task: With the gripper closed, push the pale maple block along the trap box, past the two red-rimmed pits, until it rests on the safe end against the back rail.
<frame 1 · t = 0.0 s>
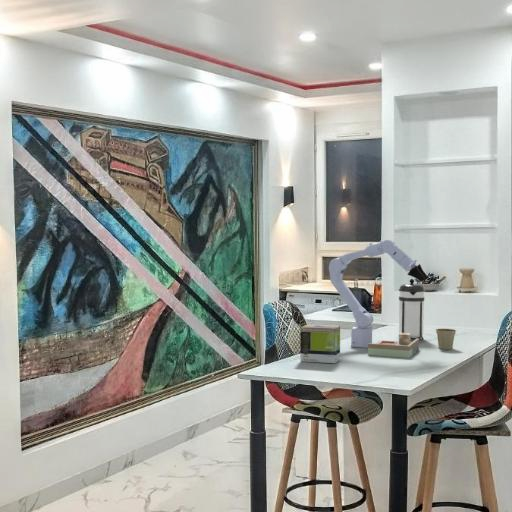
hand: (425, 279, 358), 32 cm above the breakfast bar, tool tilted 50°, fingers open, 7 cm apart
maple block: (404, 343, 360), point 3 cm above the breakfast bar, touching trap box
tea box: (320, 361, 331), on the breakfast bar
coffee press: (409, 338, 397), on the breakfast bar
flower pot: (445, 348, 366), on the breakfast bar
trap box: (393, 352, 355), on the breakfast bar
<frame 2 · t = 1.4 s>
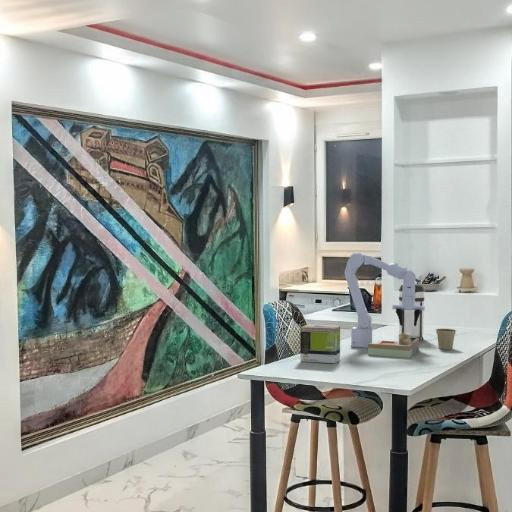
hand: (408, 325, 367), 10 cm above the breakfast bar, tool pointing down, fingers open, 6 cm apart
nothing on the breakfast bar moved.
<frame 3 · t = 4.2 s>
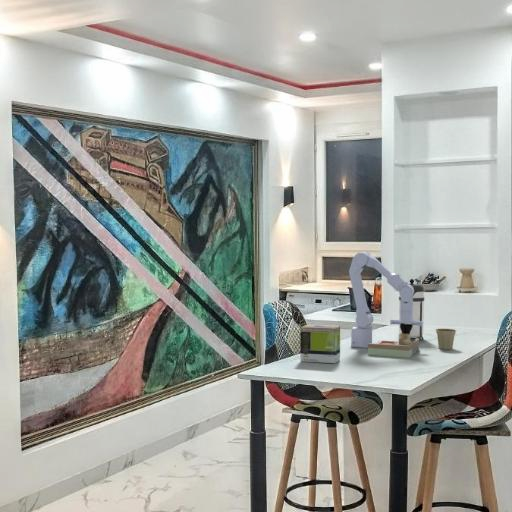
hand: (406, 340, 363), 4 cm above the breakfast bar, tool pointing down, fingers closed, pressing on maple block
maple block: (404, 344, 359), point 3 cm above the breakfast bar, touching gripper, trap box
everything else where it was.
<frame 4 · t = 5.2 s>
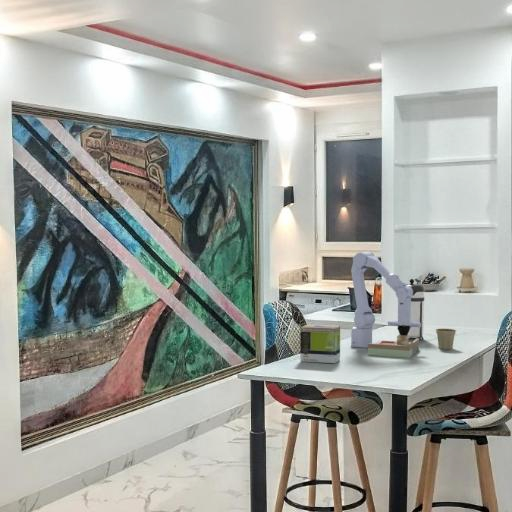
hand: (403, 342, 357), 4 cm above the breakfast bar, tool pointing down, fingers closed, pressing on maple block
maple block: (402, 345, 353), point 3 cm above the breakfast bar, touching gripper, trap box
everything else where it was.
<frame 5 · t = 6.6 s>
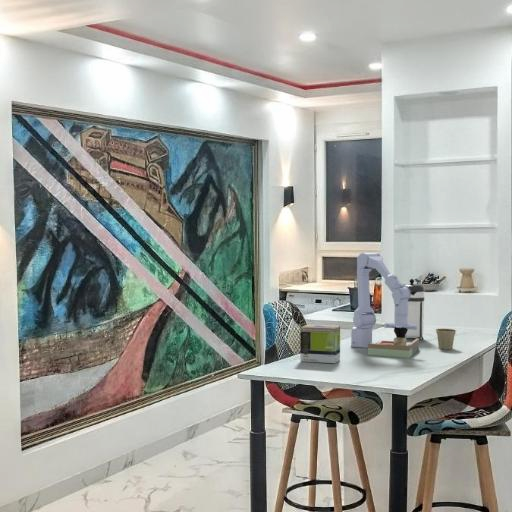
hand: (400, 344, 350), 4 cm above the breakfast bar, tool pointing down, fingers closed, pressing on maple block
maple block: (399, 348, 346), point 3 cm above the breakfast bar, touching gripper
everything else where it was.
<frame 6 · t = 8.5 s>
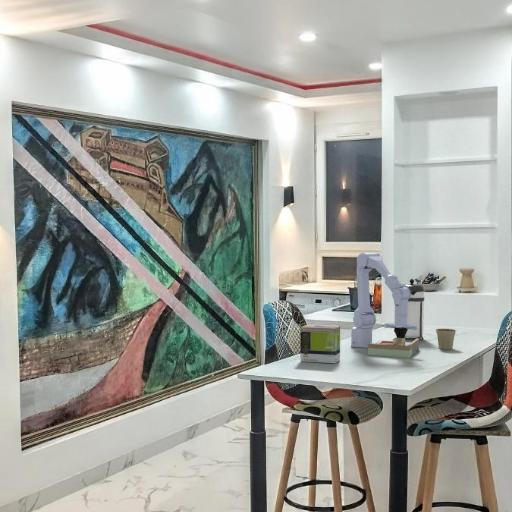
hand: (400, 344, 351), 4 cm above the breakfast bar, tool pointing down, fingers closed
maple block: (398, 348, 345), point 3 cm above the breakfast bar, touching trap box
everything else where it was.
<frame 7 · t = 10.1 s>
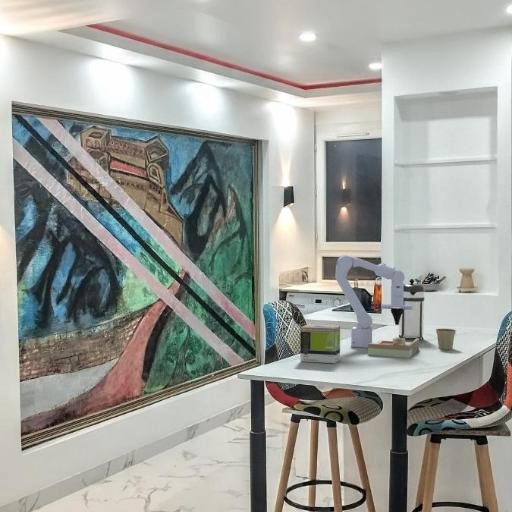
hand: (397, 324, 369), 10 cm above the breakfast bar, tool pointing down, fingers closed
nothing on the breakfast bar moved.
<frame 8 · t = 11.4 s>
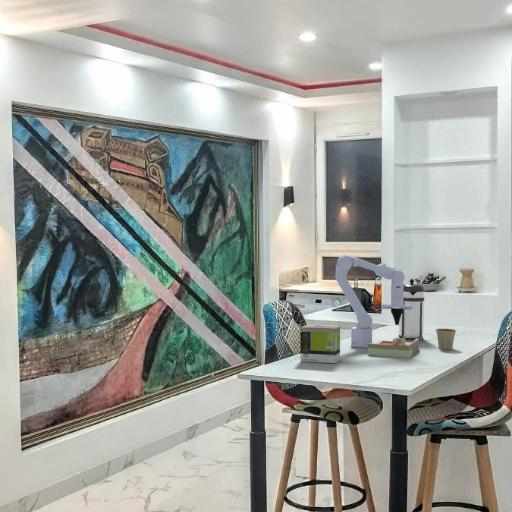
hand: (397, 324, 369), 10 cm above the breakfast bar, tool pointing down, fingers closed
nothing on the breakfast bar moved.
at the end: maple block 1.2 cm from the target spot on the trap box, point 3.0 cm above the trap box's base; maple block tilted 0° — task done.
